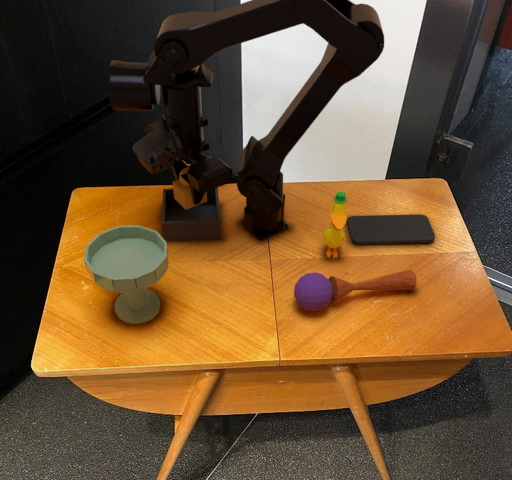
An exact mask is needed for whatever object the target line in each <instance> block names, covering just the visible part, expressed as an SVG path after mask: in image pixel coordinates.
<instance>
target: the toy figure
mask: <svg viewBox="0 0 512 480" xmlns="http://www.w3.org/2000/svg"><path fill="white" fill-rule="evenodd" d="M346 197H347V193H346V192H344V191H337V192H336V193H335V196H334V197H333V201H332V207H331V210H330V211H329V213H330V214H329V215H330V227H328V228H327V229H326V231H324V230H323V234H322V237H323V238H322V239H323V242H325V243H326V244H327V246H328V248H327V250H326V253H325V256H326V258H327V259H331V257H332V258H333V259H337V257H338V255H339V254H338V251H337V248H338V247H339V246H341V245H342V243H343V242H344V241H345V237H346V236H345V235H346V233H345V232H344V231H343V229H345V225H347V219H348V216H347V215H348V214H347V211H346V208H347V204H348V203H347V202H348V199H347V198H346ZM331 249H332V250H331Z"/></svg>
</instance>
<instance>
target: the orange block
mask: <svg viewBox="0 0 512 480" xmlns="http://www.w3.org/2000/svg"><path fill="white" fill-rule="evenodd" d="M188 170H189V167H187V168H184V169H183V170H182V171H181V172H180V175H183V174H185V173H187V171H188ZM180 175H179V180H173V181H172V188H173V191H174V199H175V200H176V201H177V202H178V203H179V204H180V205H181V206H182V207H183V208H184V209H185V210H187V209H189V208H192V207H194V206H197V205H200V204H202V203H205V202H207V192H205V194H204V196H203V198H202V200H201V202H200V203H199V204H196V205H195V204H194V202H193V199H192V195H191V190H190V186H189V184H188V183H187V182H186V181H185V180H184V179H183V178H182V177H181V176H180Z"/></svg>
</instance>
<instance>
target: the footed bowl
mask: <svg viewBox="0 0 512 480" xmlns="http://www.w3.org/2000/svg"><path fill="white" fill-rule="evenodd" d="M83 261H84V265H85V269H86V271H87V273H88V275H89V277H90V278H91V281H93V282H94V284H96V285H97V286H98V287H100V288H101V289H103V290H106V291H109V292H112V293H121V294H120V295H118V297H117V298H116V300H115V302H114V312H115V315H116V316H117V317H118V319H119V320H121V321H122V322H124V323H126V324H132V325H140V324H144V323H148V322H150V321H151V320H153V319H155V317H156V316H158V314H159V313H160V310H161V300H160V298H159V296H158V294H156V293H155V292H154V291H153V290H151V289H148V288H150V287H152V286H154V285H155V284H157V283H158V282H160V281H161V280H162V279H163V277H164V276H165V275H166V273H167V271H168V268H169V263H170V261H169V248H168V241H165V240H164V237H163V236H162V235H161V234H160V233H159V232H158V231H157V230H156V229H155V230H154V229H151V228H148V227H145V226H142V225H138V224H137V225H136V224H135V225H117V226H114V227H112V228H109V229H106V230H103V231H101V232H100V233H98V234H96V235H95V236H94V237H93V238H92V239H91V240H90V241H89V242H88V243H87V244H86V245H85V252H84V256H83Z"/></svg>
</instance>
